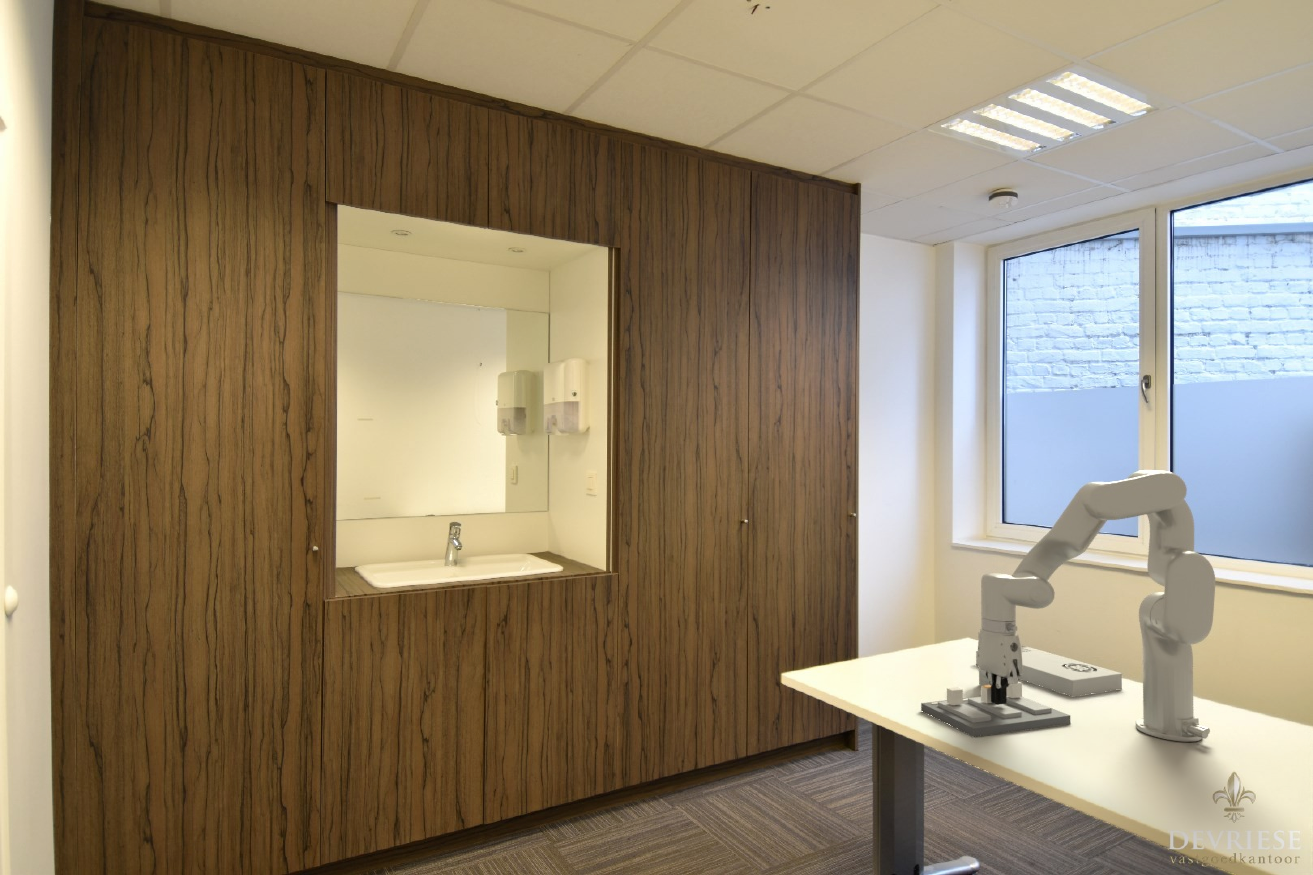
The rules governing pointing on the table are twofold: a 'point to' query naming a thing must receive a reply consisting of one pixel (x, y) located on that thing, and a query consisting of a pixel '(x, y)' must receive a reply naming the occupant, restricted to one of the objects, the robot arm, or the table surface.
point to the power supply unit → (1065, 673)
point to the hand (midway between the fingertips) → (998, 702)
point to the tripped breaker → (986, 694)
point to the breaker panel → (995, 715)
